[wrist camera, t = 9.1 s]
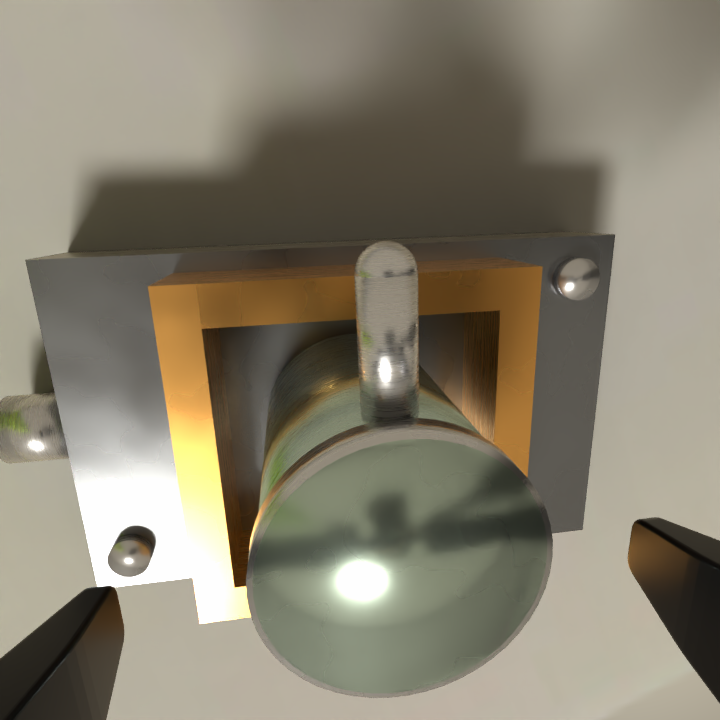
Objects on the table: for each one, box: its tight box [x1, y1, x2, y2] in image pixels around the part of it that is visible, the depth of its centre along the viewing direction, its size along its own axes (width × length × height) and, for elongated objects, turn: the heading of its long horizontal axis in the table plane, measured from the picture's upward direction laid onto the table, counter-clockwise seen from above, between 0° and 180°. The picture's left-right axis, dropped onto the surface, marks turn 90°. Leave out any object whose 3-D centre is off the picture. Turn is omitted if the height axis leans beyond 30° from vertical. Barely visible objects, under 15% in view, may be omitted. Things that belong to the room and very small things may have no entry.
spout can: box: [246, 241, 553, 698], centre depth 11 cm, size 5×8×7 cm, turn 2°
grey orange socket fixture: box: [0, 232, 615, 624], centre depth 15 cm, size 18×10×5 cm, turn 92°
